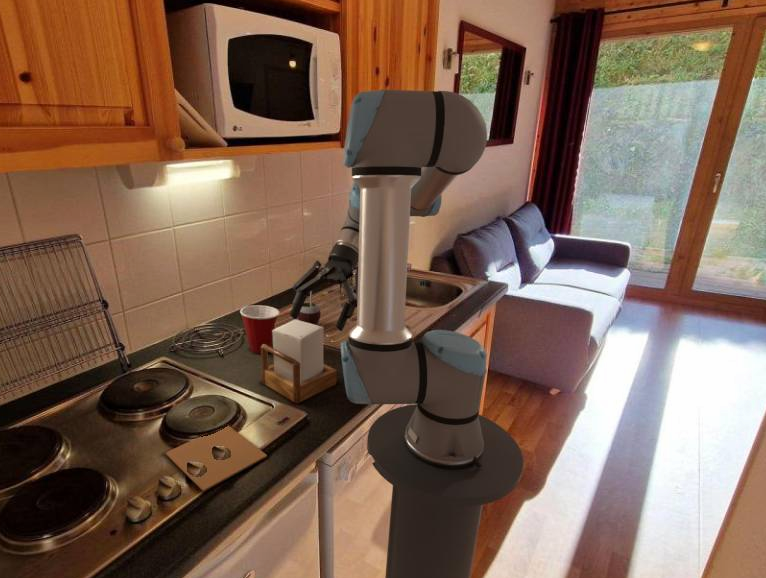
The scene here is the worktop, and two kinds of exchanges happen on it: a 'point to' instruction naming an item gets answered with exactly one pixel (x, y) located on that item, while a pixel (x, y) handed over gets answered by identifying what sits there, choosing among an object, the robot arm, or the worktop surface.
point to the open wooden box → (294, 378)
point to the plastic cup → (259, 325)
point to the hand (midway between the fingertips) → (315, 322)
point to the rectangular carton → (299, 349)
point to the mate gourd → (310, 312)
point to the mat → (216, 469)
